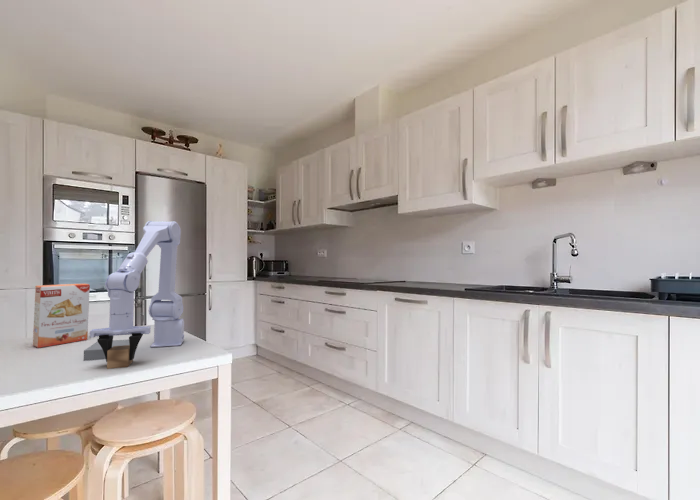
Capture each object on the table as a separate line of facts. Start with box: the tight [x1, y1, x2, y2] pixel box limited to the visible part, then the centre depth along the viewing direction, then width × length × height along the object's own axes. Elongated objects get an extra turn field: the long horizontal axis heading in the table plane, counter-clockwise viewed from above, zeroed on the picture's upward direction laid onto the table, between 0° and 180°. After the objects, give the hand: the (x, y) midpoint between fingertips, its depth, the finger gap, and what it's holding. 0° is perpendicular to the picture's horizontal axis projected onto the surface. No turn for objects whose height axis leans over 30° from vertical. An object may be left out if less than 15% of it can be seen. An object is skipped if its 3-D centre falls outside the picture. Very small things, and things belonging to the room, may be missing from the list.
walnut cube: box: [106, 345, 134, 370], centre depth 95 cm, size 5×5×5 cm
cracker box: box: [32, 283, 91, 349], centre depth 117 cm, size 14×6×21 cm, turn 148°
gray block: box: [83, 338, 130, 362], centre depth 105 cm, size 11×11×4 cm
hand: (120, 360), depth 95 cm, fingers closed on walnut cube, 5 cm apart
